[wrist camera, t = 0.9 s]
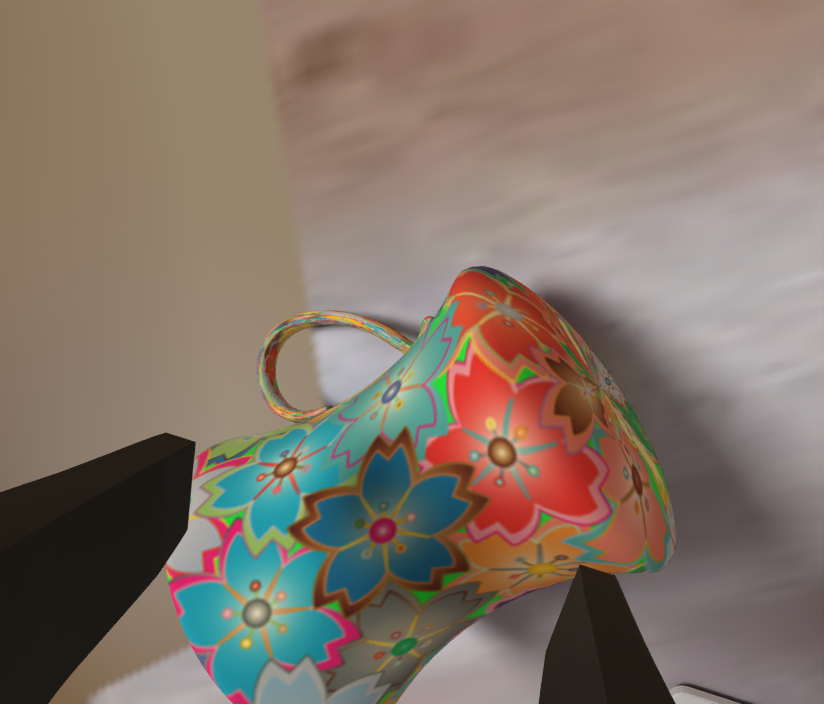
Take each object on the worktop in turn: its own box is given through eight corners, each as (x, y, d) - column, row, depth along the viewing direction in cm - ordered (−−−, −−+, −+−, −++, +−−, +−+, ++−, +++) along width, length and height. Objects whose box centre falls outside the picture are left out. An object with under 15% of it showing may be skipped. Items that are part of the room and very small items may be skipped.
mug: (658, 592, 11) (223, 805, 15) (739, 553, 19) (438, 701, 23) (376, 94, 16) (103, 349, 20) (531, 224, 24) (312, 390, 28)
